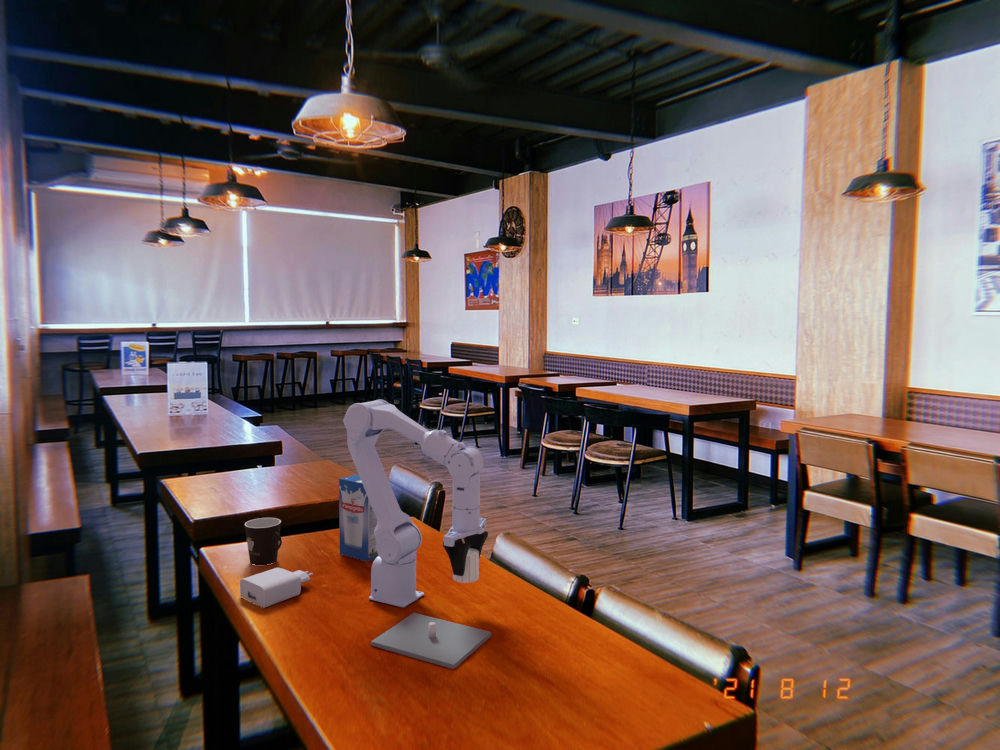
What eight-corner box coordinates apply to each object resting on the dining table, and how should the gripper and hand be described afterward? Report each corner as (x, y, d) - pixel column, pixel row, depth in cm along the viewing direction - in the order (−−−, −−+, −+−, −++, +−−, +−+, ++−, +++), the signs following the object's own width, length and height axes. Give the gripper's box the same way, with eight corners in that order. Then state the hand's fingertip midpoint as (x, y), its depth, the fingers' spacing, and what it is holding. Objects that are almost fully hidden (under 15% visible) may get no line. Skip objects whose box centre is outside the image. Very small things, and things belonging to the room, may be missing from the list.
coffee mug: (244, 558, 168) (243, 520, 167) (279, 553, 172) (278, 516, 171) (247, 574, 157) (246, 533, 157) (285, 568, 161) (284, 528, 160)
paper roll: (448, 579, 136) (448, 553, 136) (461, 571, 141) (461, 546, 141) (470, 584, 134) (470, 558, 134) (483, 575, 139) (483, 550, 138)
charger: (322, 587, 150) (264, 610, 138) (298, 578, 156) (240, 598, 144) (322, 567, 150) (264, 588, 138) (298, 558, 155) (239, 577, 144)
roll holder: (371, 645, 123) (371, 628, 123) (414, 616, 135) (414, 600, 135) (453, 669, 115) (453, 651, 115) (491, 636, 127) (491, 619, 127)
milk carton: (384, 554, 172) (384, 479, 170) (367, 561, 167) (367, 484, 165) (356, 547, 177) (356, 474, 176) (339, 554, 172) (338, 478, 170)
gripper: (465, 517, 128) (465, 585, 129) (499, 500, 141) (498, 562, 142) (434, 512, 131) (434, 579, 132) (470, 496, 144) (470, 556, 145)
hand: (465, 570), depth 137 cm, fingers closed on paper roll, 5 cm apart
